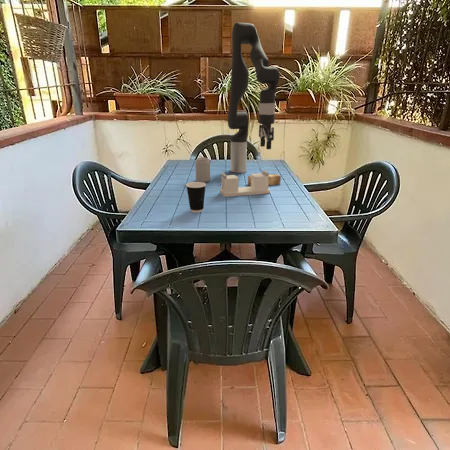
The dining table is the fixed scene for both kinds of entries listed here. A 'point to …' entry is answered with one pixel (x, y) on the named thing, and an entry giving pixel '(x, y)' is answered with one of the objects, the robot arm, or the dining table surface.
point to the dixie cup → (196, 196)
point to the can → (202, 169)
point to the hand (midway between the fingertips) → (265, 147)
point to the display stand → (231, 187)
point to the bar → (272, 179)
